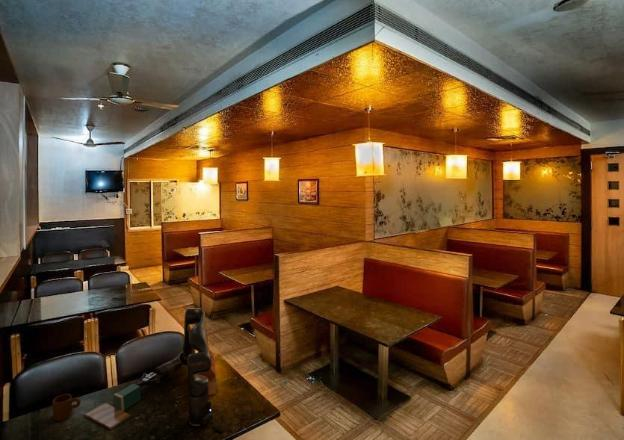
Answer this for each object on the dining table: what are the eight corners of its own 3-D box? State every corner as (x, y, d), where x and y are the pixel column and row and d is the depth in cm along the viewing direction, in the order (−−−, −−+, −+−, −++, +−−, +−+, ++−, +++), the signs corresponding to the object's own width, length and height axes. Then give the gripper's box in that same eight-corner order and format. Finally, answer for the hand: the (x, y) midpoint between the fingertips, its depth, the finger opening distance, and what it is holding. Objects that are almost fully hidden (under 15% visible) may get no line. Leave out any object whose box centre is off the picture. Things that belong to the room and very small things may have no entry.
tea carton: (141, 399, 182) (140, 386, 181) (121, 412, 173) (120, 398, 172) (134, 396, 185) (133, 383, 184) (114, 408, 175) (113, 394, 174)
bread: (193, 374, 208) (192, 350, 206) (214, 370, 212) (214, 347, 210) (192, 398, 184) (191, 371, 183) (217, 394, 188) (216, 368, 187)
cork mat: (130, 416, 169) (130, 414, 169) (110, 429, 160) (110, 427, 160) (105, 404, 178) (105, 402, 178) (85, 415, 170) (85, 414, 169)
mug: (85, 410, 174) (84, 392, 173) (77, 420, 166) (75, 402, 165) (59, 412, 172) (58, 394, 171) (49, 422, 165) (48, 403, 164)
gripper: (156, 361, 201) (128, 376, 185) (172, 367, 195) (144, 382, 179) (156, 374, 201) (128, 389, 186) (172, 380, 195) (145, 396, 180)
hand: (136, 386), depth 183 cm, fingers closed
